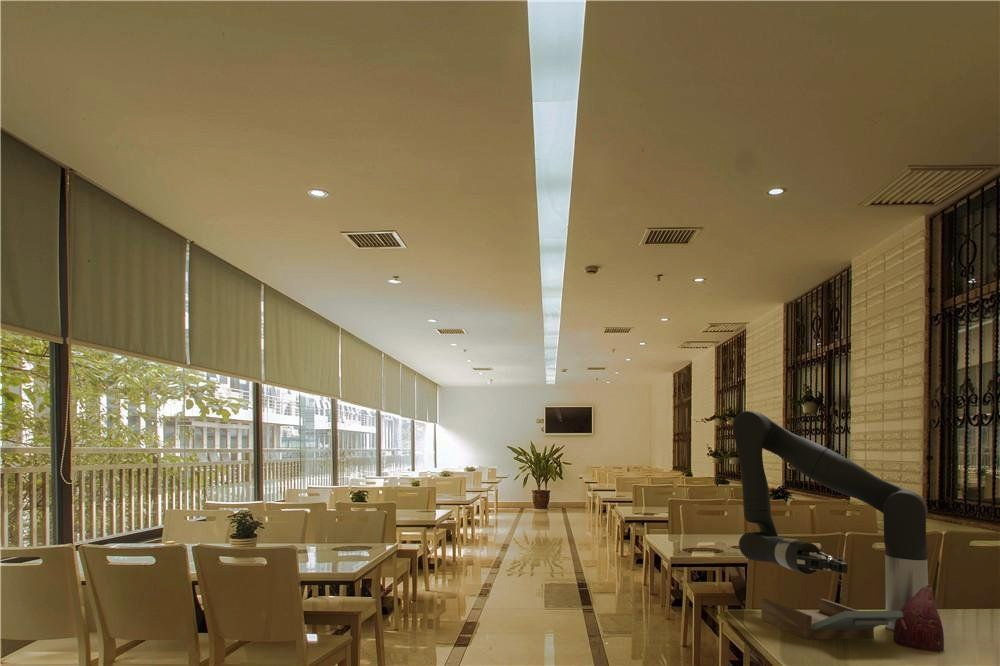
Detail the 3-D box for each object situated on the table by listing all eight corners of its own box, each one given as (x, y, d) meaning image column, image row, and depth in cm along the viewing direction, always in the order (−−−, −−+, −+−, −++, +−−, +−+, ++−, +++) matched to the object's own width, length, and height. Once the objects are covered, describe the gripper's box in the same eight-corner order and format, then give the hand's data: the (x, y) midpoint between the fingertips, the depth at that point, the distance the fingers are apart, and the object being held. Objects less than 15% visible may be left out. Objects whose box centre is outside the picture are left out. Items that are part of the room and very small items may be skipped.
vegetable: (930, 655, 180) (942, 590, 183) (951, 662, 170) (963, 593, 173) (883, 640, 181) (896, 575, 185) (901, 645, 171) (914, 577, 175)
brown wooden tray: (823, 619, 197) (823, 598, 197) (873, 638, 179) (873, 615, 180) (761, 619, 193) (761, 598, 193) (806, 639, 175) (806, 616, 176)
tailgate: (866, 623, 180) (901, 610, 170) (870, 635, 178) (905, 622, 169) (812, 624, 176) (844, 611, 166) (815, 635, 175) (848, 623, 165)
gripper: (774, 539, 193) (819, 551, 177) (820, 540, 197) (869, 551, 180) (774, 570, 192) (819, 585, 176) (820, 571, 196) (869, 585, 179)
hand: (844, 568), depth 178 cm, fingers closed
